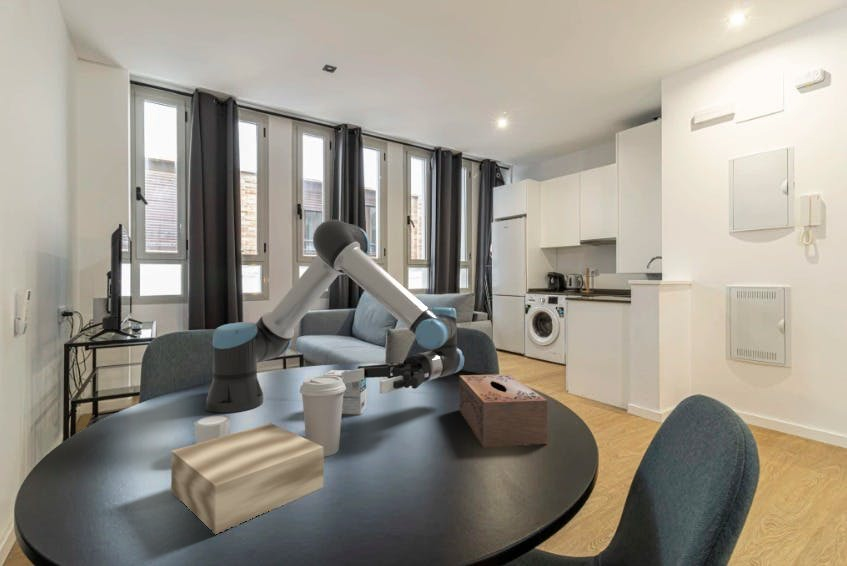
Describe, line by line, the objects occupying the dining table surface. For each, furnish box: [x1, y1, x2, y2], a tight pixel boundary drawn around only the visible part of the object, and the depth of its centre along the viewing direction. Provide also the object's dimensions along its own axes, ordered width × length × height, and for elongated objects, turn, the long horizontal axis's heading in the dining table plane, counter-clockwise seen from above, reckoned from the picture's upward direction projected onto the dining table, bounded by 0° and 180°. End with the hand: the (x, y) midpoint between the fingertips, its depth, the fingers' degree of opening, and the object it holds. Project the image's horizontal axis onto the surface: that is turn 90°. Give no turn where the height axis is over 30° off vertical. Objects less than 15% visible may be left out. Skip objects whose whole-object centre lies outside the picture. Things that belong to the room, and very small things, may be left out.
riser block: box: [170, 423, 325, 534], centre depth 70 cm, size 18×18×7 cm
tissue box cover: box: [458, 373, 549, 448], centre depth 101 cm, size 26×14×10 cm, turn 7°
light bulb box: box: [323, 369, 368, 415], centre depth 113 cm, size 11×7×11 cm, turn 84°
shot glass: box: [193, 414, 232, 444], centre depth 84 cm, size 7×7×7 cm
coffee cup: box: [299, 375, 346, 457], centre depth 86 cm, size 10×10×15 cm
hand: (360, 382), depth 93 cm, fingers open, 13 cm apart
